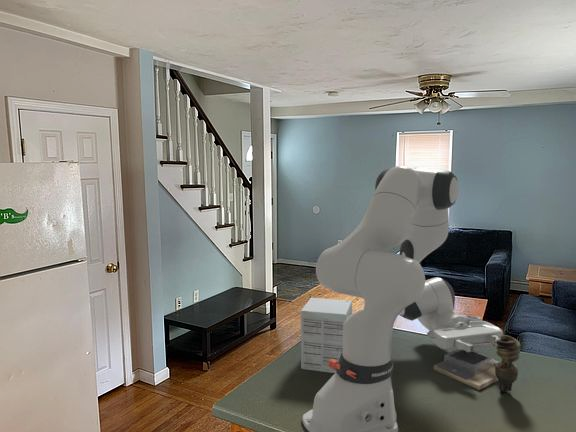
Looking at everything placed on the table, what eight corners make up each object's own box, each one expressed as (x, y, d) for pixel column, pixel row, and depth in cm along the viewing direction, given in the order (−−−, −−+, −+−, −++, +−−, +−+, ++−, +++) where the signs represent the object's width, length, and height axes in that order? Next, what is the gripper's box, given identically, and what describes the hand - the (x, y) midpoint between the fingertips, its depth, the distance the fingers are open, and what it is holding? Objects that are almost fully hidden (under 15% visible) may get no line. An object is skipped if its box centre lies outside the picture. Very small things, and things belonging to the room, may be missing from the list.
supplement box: (310, 350, 137) (310, 296, 135) (352, 355, 134) (352, 300, 132) (300, 369, 125) (299, 310, 123) (345, 375, 121) (346, 314, 119)
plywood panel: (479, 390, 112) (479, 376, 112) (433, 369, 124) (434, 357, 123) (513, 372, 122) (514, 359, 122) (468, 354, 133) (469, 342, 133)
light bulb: (497, 384, 115) (499, 330, 113) (520, 391, 112) (523, 335, 110) (491, 393, 111) (494, 336, 109) (514, 400, 107) (518, 342, 106)
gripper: (424, 322, 128) (453, 340, 114) (483, 315, 133) (517, 332, 120) (423, 342, 128) (452, 363, 115) (482, 335, 134) (516, 354, 120)
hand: (486, 347), depth 117 cm, fingers open, 8 cm apart
